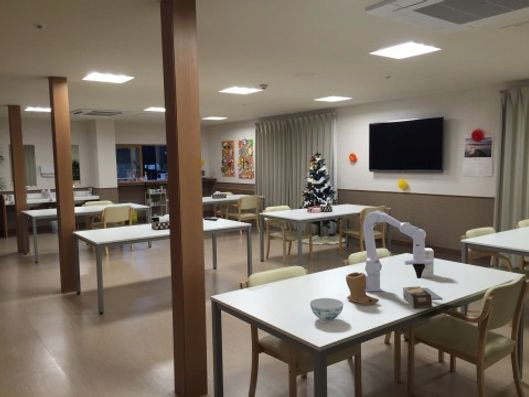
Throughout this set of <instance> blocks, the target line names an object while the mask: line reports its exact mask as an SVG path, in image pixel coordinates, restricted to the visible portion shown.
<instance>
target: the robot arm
mask: <svg viewBox="0 0 529 397" xmlns="http://www.w3.org/2000/svg"><path fill="white" fill-rule="evenodd" d="M378 223H388V224H389V225H391V226H393V227H395V228H397V229H399V232H401V233H402V234H404V235H406V236H408V237H409V238H411V239H412V241H413V244H412V245H413V246H412V259H410V260H409V259H408V260H404V265H405V266H408V265H410V266H411V265H412V267H413V270H414V271H415V276H416V278H417V279H421V278H422V277H421V275H422V272H423V270H424V268H425V265H424V264H433V260H425V248H426V247H425V246H426V244H425V240H426V237H427V233H426V231H425V230H424V229H423V228H419V227H418V226H414V225H412V224H411V223H410V222H409V221H407V222H406V221H404V222H402V221H399V220H398V219H396V218H395V217H392V216H391V215H389V214H387V213H386V212H384V211H381V210H375V211H370V212H368V213H367V214H366V216H365V219H364V222H363V225H362V230H363V237H364V245H365V251H366V252H365V253H366V261H365V267H364V270H365V272H366V273H364V274H365V276H366V292H383V289H382V288H381V272H380V271H381V270H382V267H383V266H382V263H381V261H380V258H379V257H378V255H377V254H378V253H377V247H376V240H375V233H374V227H376V225H378Z"/></svg>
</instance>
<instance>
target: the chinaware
mask: <svg viewBox="0 0 529 397" xmlns="http://www.w3.org/2000/svg"><path fill="white" fill-rule="evenodd" d="M309 305H310V309H311V311H312V313H313V314H314V316H315V317H316V318H318V319H319V321H320V322H322V323H331V322H334V321H335V319H336V318H338V317H339V316H340V315H341V313H342V312H343V309H344V305H345V304H344V301H342V300H340V299H336V298H331V297H330V298H329V297H321V298H315V299H312V300H310V301H309Z"/></svg>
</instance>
